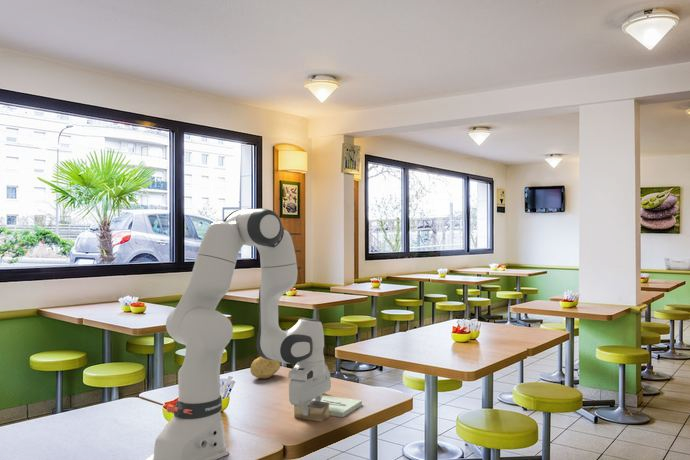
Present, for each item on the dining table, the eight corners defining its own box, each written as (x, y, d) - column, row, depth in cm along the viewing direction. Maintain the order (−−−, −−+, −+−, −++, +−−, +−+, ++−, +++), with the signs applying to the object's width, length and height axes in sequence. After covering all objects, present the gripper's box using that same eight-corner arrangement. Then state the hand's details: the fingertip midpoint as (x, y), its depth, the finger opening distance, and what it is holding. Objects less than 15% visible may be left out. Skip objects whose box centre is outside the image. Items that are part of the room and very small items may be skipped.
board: (342, 417, 177) (342, 412, 177) (300, 410, 185) (300, 406, 185) (362, 405, 190) (361, 400, 190) (321, 399, 197) (321, 394, 197)
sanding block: (321, 421, 173) (321, 407, 173) (294, 417, 178) (294, 403, 178) (329, 416, 178) (328, 402, 178) (302, 412, 182) (302, 398, 182)
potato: (286, 377, 229) (285, 354, 230) (254, 383, 221) (254, 359, 221) (274, 372, 238) (274, 350, 238) (243, 378, 229) (243, 355, 229)
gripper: (318, 360, 189) (319, 401, 188) (285, 374, 171) (285, 419, 170) (335, 362, 186) (335, 404, 186) (302, 376, 168) (303, 422, 167)
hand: (311, 411), depth 178 cm, fingers closed on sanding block, 5 cm apart
